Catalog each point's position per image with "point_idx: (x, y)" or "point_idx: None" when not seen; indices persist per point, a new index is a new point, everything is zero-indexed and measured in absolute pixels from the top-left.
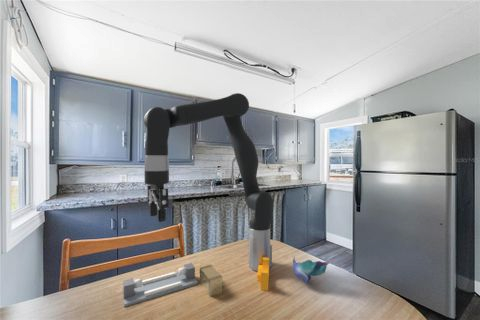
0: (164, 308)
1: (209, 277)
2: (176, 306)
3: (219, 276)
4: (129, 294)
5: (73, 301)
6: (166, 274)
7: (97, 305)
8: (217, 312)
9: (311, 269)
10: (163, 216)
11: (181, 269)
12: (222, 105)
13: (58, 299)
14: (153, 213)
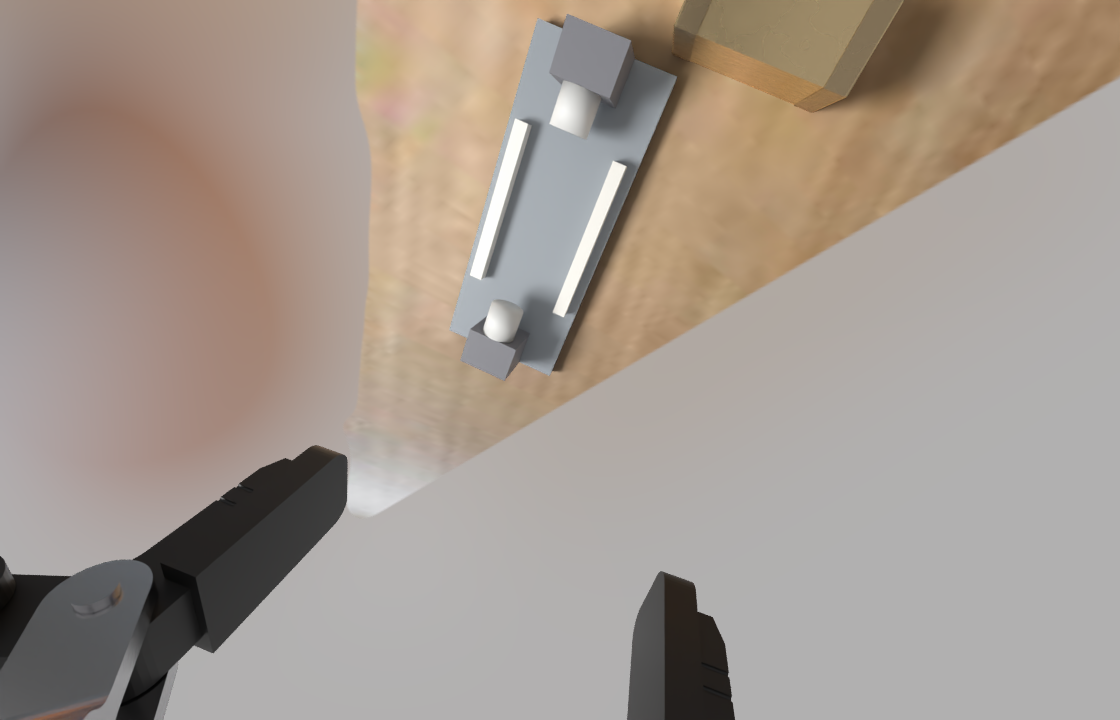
0: (676, 297)
1: (819, 72)
2: (710, 262)
3: (886, 10)
4: (522, 350)
5: (407, 432)
6: (504, 168)
7: (477, 407)
8: (916, 175)
9: None
10: (711, 681)
11: (578, 122)
12: None
13: (370, 447)
14: (324, 508)
